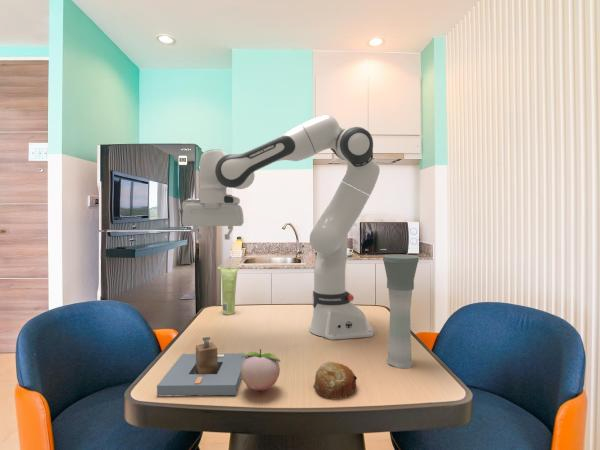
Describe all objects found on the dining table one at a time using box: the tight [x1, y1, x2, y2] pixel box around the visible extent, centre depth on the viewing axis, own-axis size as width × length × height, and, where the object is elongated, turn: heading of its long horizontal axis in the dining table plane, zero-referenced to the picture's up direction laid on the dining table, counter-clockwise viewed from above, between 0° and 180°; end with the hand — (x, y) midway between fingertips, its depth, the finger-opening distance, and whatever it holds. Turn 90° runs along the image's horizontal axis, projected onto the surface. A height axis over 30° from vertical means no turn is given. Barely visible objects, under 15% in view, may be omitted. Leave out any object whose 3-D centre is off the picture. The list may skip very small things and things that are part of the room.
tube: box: [219, 266, 239, 316], centre depth 145 cm, size 6×5×20 cm
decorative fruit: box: [241, 348, 281, 392], centre depth 81 cm, size 9×8×10 cm
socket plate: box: [156, 352, 247, 396], centre depth 88 cm, size 18×18×3 cm
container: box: [382, 253, 420, 369], centre depth 97 cm, size 10×10×30 cm
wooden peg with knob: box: [195, 336, 218, 374], centre depth 88 cm, size 4×4×10 cm
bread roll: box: [312, 361, 358, 399], centre depth 83 cm, size 10×10×8 cm
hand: (213, 239), depth 117 cm, fingers open, 8 cm apart
